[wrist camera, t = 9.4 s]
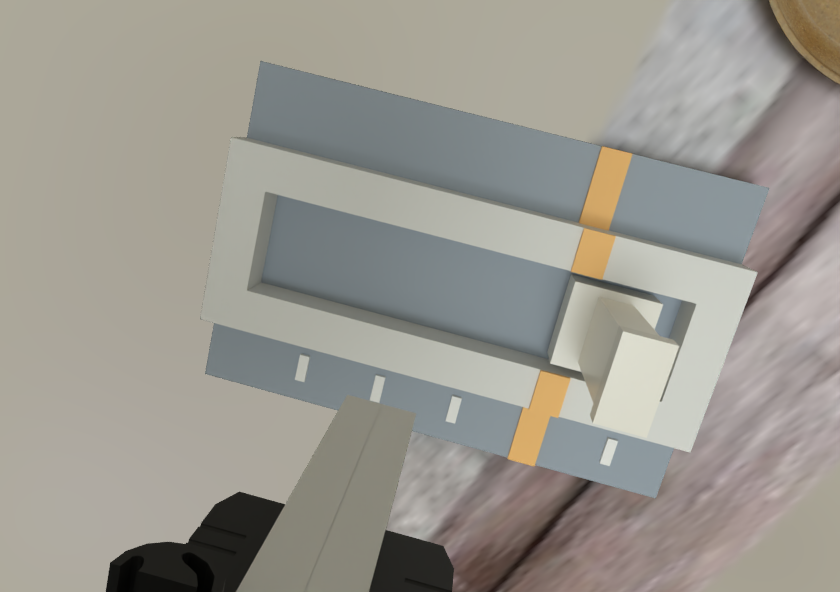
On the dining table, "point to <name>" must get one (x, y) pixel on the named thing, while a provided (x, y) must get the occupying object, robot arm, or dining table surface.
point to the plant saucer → (813, 31)
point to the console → (464, 270)
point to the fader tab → (614, 351)
